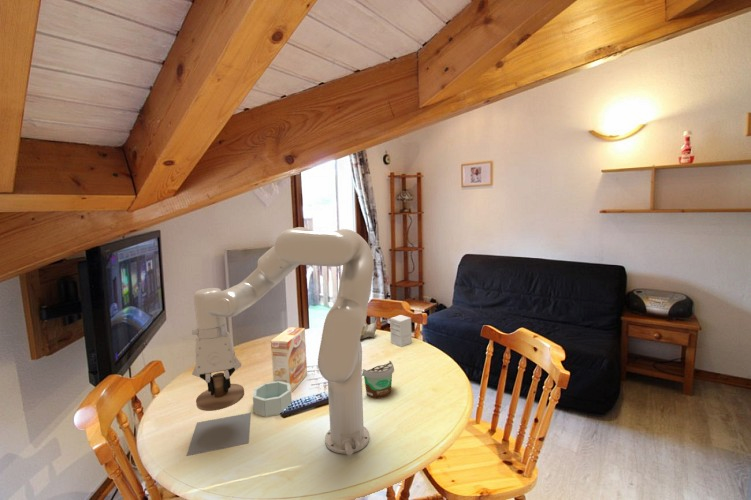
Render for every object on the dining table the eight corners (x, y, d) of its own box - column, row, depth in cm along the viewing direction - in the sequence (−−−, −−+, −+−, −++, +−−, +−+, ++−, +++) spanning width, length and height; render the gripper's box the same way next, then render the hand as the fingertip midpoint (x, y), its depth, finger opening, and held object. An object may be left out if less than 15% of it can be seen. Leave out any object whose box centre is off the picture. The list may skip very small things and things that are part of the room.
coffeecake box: (291, 394, 130) (287, 341, 127) (273, 392, 131) (269, 340, 129) (308, 374, 144) (305, 327, 142) (291, 373, 146) (288, 326, 143)
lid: (243, 404, 102) (240, 380, 101) (192, 415, 98) (189, 390, 97) (245, 383, 114) (242, 362, 113) (200, 392, 111) (197, 370, 110)
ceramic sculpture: (379, 322, 178) (349, 328, 174) (380, 339, 179) (351, 345, 175) (372, 316, 188) (344, 322, 184) (374, 332, 189) (346, 338, 185)
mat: (248, 445, 102) (248, 443, 102) (186, 457, 98) (186, 455, 98) (251, 414, 118) (250, 412, 118) (197, 424, 113) (196, 422, 113)
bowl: (292, 413, 118) (291, 395, 117) (253, 420, 114) (252, 402, 113) (290, 395, 129) (289, 379, 128) (255, 401, 126) (253, 384, 125)
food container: (372, 404, 121) (371, 376, 120) (363, 396, 126) (361, 369, 125) (401, 392, 128) (401, 365, 127) (391, 385, 133) (390, 360, 132)
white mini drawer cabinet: (401, 339, 179) (400, 314, 177) (412, 343, 173) (411, 317, 172) (390, 343, 174) (389, 317, 173) (401, 347, 169) (400, 321, 167)
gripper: (177, 340, 98) (186, 404, 100) (242, 330, 103) (249, 392, 105) (183, 331, 105) (191, 391, 107) (243, 323, 110) (250, 380, 112)
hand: (220, 391), depth 106 cm, fingers closed on lid, 3 cm apart
